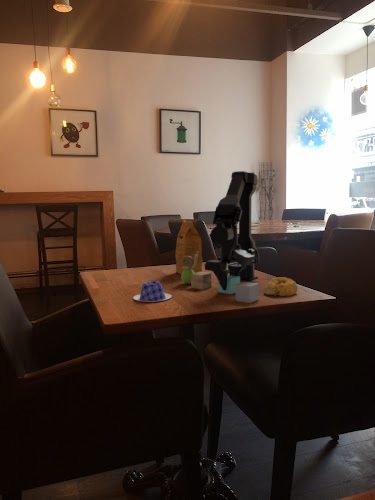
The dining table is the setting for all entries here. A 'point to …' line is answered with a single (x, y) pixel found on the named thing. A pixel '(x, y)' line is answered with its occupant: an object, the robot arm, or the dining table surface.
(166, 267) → the dining table surface
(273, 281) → the bagel
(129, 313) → the dining table surface
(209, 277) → the walnut block
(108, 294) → the dining table surface
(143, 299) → the pudding
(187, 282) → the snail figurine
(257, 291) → the grey cube
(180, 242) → the coffee package
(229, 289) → the teal block
